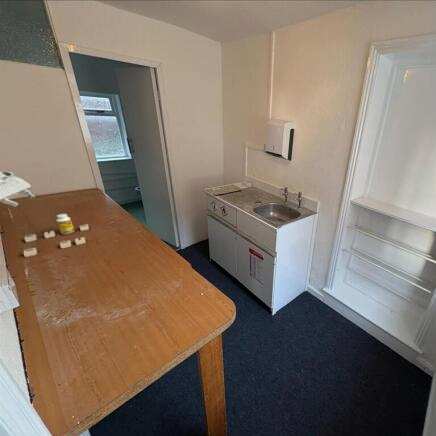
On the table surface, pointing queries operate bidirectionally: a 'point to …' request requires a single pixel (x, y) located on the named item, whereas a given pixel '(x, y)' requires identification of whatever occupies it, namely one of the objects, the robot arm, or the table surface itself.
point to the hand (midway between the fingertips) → (25, 201)
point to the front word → (63, 245)
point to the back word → (52, 233)
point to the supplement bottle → (64, 224)
